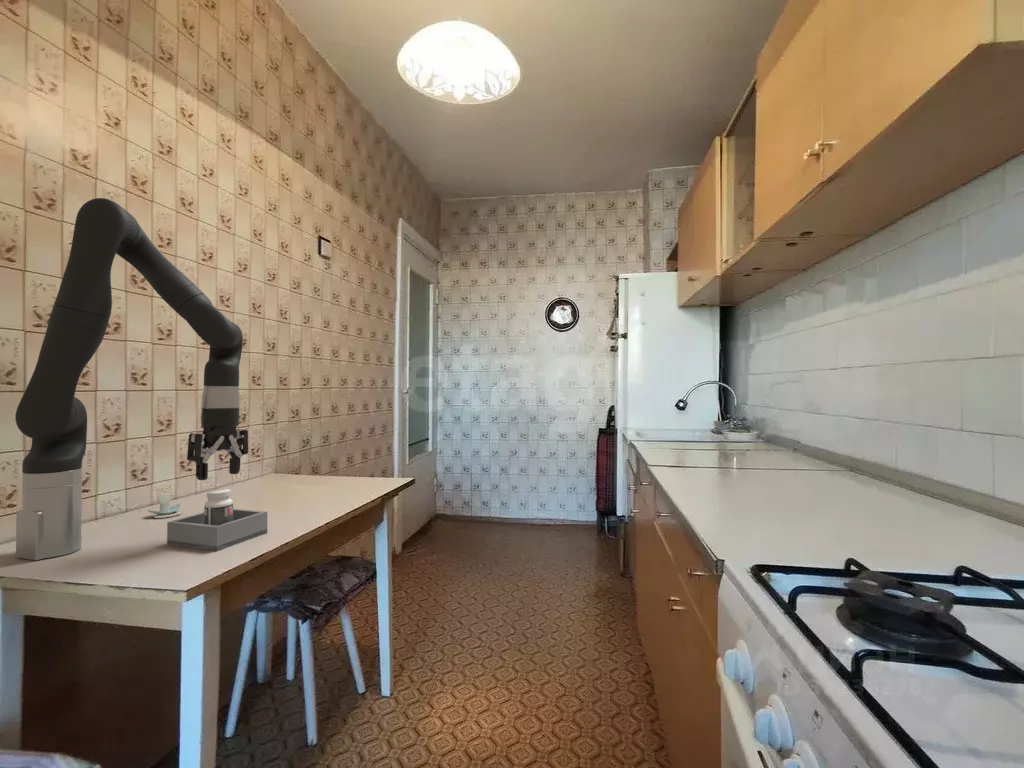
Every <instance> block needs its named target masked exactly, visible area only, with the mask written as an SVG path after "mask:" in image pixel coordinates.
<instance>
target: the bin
mask: <svg viewBox="0 0 1024 768" xmlns="http://www.w3.org/2000/svg"><path fill="white" fill-rule="evenodd" d="M166 522H167V523H166V525H167V526H166V527H167V530H166V531H167V532H166V534H167V535H166V537H167V539H166V542H167V543H166V545H167V546H175V547H182V548H191V549H197V550H198V549H199V550H207V551H213V550H215V551H214V552H218V550H219V551H221V550H224V549H227V548H229V546H230V547H232V546H235V545H237V543H238V544H240V543H242V541H243V542H246V541H249V540H251V539H254V538H257V537H259V535H260V536H262V535H264V534H267V533H268V511H264V510H263V511H262V510H253V509H241V508H233V521H231V522H228V523H225V524H222V525H218V526H215V525H205V524H204V511H203V512H200V513H196V514H193V515H189V516H185V517H181V518H177V519H173V520H169V521H166ZM248 539H249V540H248ZM245 540H246V541H245ZM234 544H235V545H234ZM226 547H227V548H226ZM223 548H224V549H223Z"/></svg>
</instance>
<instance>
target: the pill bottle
mask: <svg viewBox="0 0 1024 768" xmlns="http://www.w3.org/2000/svg"><path fill="white" fill-rule="evenodd" d="M231 491H232V490H231V489H229V488H216V489H209V490H208V491H207V493H206V498H207V501H206V502H204V505H203V506H204V509H203V510H204V511H203V512H204V524H205V525H215V526H218V525H222V524H225V523H228V522H231V521H233V509H234V502H233V501H234V500H233V499H231V498H230V496H231Z"/></svg>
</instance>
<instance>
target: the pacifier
mask: <svg viewBox="0 0 1024 768" xmlns="http://www.w3.org/2000/svg"><path fill="white" fill-rule="evenodd" d="M171 499H172V497H171V495H170V494H169V493H168V492H161V493H160V494H159V495H158V497H157V501H158V504H159V511H158V510H149V509H148V510H147V511H148V512H149V513H151V514H155V515H154V516H153V518H154V519H167V517H168V518H173V517H177V516H179V515H181V514H182V512H181V511H178V510H179V509H180V507H181V505H180V504H174V505H171V506H170V505H169V504H170V502H171Z"/></svg>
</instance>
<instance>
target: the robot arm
mask: <svg viewBox="0 0 1024 768" xmlns="http://www.w3.org/2000/svg"><path fill="white" fill-rule="evenodd" d="M73 228H74V229H73V233H72V234H73V236H72V240H71V247H70V253H69V257H68V261H67V264H66V266H65V269H64V272H63V275H62V279H61V283H60V285H59V289H58V292H57V295H56V298H55V300H54V303H53V306H52V309H51V312H50V314H49V315H50V316H49V319H48V322H47V328H46V329H45V330H46V331H45V334H44V338H43V341H42V343H41V347H40V350H39V354H38V358H37V362H36V364H35V367H34V370H33V373H32V375H31V377H30V379H29V381H28V384H27V386H26V388H25V390H24V392H23V395H22V397H21V398H20V401H19V403H18V405H17V408H16V410H15V411H16V412H15V423H16V427H17V429H18V430H19V431H20V433H22V434H23V435H25V436H26V437H27V438H31V447H30V449H29V451H28V453H27V455H26V456H25V457H24V458H23V460H22V462H21V463H22V464H21V465H22V467H21V469H22V470H21V472H22V474H21V476H22V477H21V479H22V480H21V482H22V483H21V484H22V485H21V487H22V488H21V509H17V511H16V517H15V521H16V522H15V523H16V524H15V558H18V559H25V560H30V561H39V560H42V559H49V558H54V557H60V556H65V555H68V554H72V553H75V552H77V551H78V550H81V549H82V538H83V537H82V515H83V514H82V505H83V504H82V503H83V502H82V501H83V500H82V499H83V497H82V494H83V493H82V491H83V489H82V488H83V459H84V457H85V455H86V451H87V436H88V413H87V409H86V406H85V405H84V403H83V402H82V400H80V399H79V398H77V397H76V396H75V394H76V390H77V386H78V383H79V380H80V377H81V375H82V373H83V371H84V369H85V368H86V366H87V365H88V364H89V362H90V361H91V359H92V358H93V357H94V355H95V353H96V352H97V350H98V348H99V347H100V345H101V344H102V341H103V340H104V337H105V335H106V331H107V329H108V326H109V322H110V318H111V314H112V308H113V306H112V305H113V297H112V283H111V282H112V281H111V280H112V279H111V277H112V276H111V275H112V274H111V273H112V272H111V271H112V267H113V262H114V260H115V256H116V255H118V256H119V257H120V258H122V259H123V260H124V261H126V262H127V263H128V264H130V265H131V266H132V267H134V268H135V269H136V270H137V272H139V273H140V275H142V276H143V278H144V279H145V280H146V281H147V282H148V284H149V285H150V286H151V288H152V289H153V290H154V291H155V293H157V295H158V296H159V297H160V298H161V299H162V300H164V302H165V303H166V304H167V305H168V306H169V307H171V309H172V310H173V311H174V312H175V313H177V314H178V316H180V317H181V318H182V319H183V320H184V321H186V323H188V325H189V326H190V327H191V329H192V330H193V331H194V332H195V333H196V335H197V336H199V338H201V340H203V341H204V342H205V344H207V345H208V346H209V355H208V361H207V362H206V363H205V364H204V371H203V389H202V393H201V394H202V395H201V414H200V415H201V418H200V421H201V422H200V425H201V427H202V428H203V429H202V432H201V433H199V432H198V433H197V432H194V433H192V432H191V433H189V434H188V440H187V443H188V444H187V454H186V460H187V461H190V462H194V463H195V477H196V479H197V480H198V481H207V480H208V477H209V476H208V475H209V463H208V461H209V460H210V458H211V456H212V455H214V454H215V453H216V452H220V451H225V452H227V454H228V455H229V456H230V457H229V471H228V472H229V473H228V474H231V475H238V474H239V473H240V470H241V458H242V457H243V456H245V455H248V453H249V431H248V429H242V428H241V429H240V428H238V429H237V427H238V426H239V424H240V402H241V401H240V397H241V395H240V387H239V386H240V362H241V359H242V357H241V356H242V354H243V353H242V352H243V346H244V345H243V344H244V337H243V336H244V334H243V332H242V328H240V326H239V325H238V324H236V323H235V322H232V321H231V320H230V319H228V318H227V317H226V316H225V315H224V314H223V312H221V311H220V310H219V309H218V308H216V306H214V305H213V302H212V301H211V299H210V298H209V297H208V296H207V294H205V293H204V292H203V291H202V290H201V289H200V288H199V287H198V286H197V285H196V284H194V282H193V281H192V280H191V279H190V278H188V277H187V276H186V275H185V274H184V273H183V272H182V271H181V270H180V269H178V267H176V266H175V265H174V264H172V262H170V261H169V260H168V259H167V258H166V256H164V255H163V254H162V252H161V251H160V250H159V249H158V248H157V247H156V245H155V243H153V242H152V240H151V239H150V238H149V236H148V235H147V233H146V232H145V231H144V230H143V228H142V226H141V225H140V224H139V223H138V221H137V219H136V217H134V216H133V214H131V213H130V212H129V211H128V210H127V209H125V208H124V207H123V206H121V205H119V204H118V203H116V201H113V200H111V199H109V198H104V197H97V198H92V199H89V200H88V201H86V202H85V203H83V204H82V206H81V207H80V208H79V209H78V211H77V214H76V217H75V223H74V227H73Z"/></svg>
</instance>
